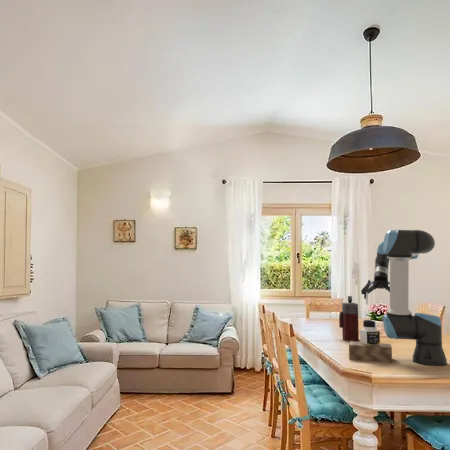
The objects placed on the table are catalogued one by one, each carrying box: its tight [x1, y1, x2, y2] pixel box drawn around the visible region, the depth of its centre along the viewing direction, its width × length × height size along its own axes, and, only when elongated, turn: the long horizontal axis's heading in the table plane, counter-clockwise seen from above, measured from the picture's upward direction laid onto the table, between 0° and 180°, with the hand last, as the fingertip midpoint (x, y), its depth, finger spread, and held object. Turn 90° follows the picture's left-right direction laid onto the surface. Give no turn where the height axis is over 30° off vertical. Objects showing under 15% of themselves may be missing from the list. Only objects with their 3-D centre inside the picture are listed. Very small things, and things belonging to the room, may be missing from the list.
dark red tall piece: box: [338, 295, 360, 342], centre depth 281 cm, size 9×11×28 cm
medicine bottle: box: [359, 319, 381, 345], centre depth 219 cm, size 7×7×12 cm
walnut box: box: [348, 341, 393, 363], centre depth 218 cm, size 20×12×7 cm, turn 72°
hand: (379, 303), depth 235 cm, fingers open, 13 cm apart
